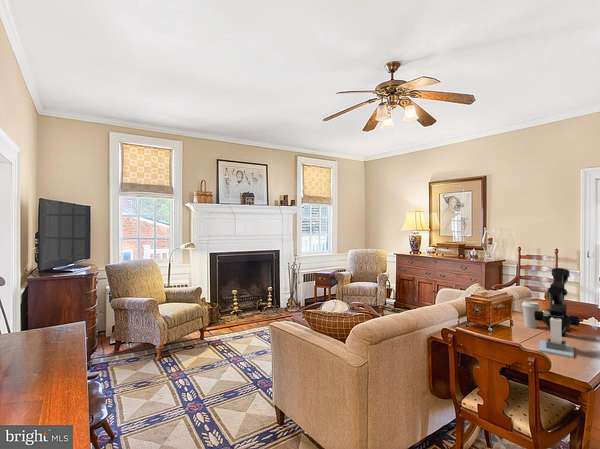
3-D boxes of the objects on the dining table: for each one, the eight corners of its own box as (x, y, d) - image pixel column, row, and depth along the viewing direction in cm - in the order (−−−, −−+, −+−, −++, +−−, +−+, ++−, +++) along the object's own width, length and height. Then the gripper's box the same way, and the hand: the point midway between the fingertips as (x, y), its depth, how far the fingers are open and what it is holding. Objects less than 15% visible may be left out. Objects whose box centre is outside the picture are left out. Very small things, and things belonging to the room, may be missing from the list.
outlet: (540, 341, 188) (540, 334, 188) (573, 347, 180) (573, 339, 180) (538, 351, 174) (538, 343, 174) (573, 358, 166) (573, 349, 166)
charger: (550, 342, 180) (550, 317, 180) (561, 344, 177) (561, 318, 177) (550, 345, 177) (550, 318, 177) (561, 346, 174) (561, 320, 174)
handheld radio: (548, 320, 229) (572, 332, 205) (543, 320, 230) (566, 332, 205) (548, 310, 229) (572, 321, 205) (542, 310, 230) (566, 321, 205)
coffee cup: (539, 325, 218) (539, 301, 218) (540, 329, 210) (540, 304, 210) (521, 323, 223) (521, 300, 223) (521, 327, 215) (521, 303, 215)
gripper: (534, 295, 186) (532, 320, 177) (579, 300, 174) (579, 327, 166) (535, 307, 192) (534, 332, 183) (578, 312, 181) (579, 339, 172)
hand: (555, 332), depth 176 cm, fingers closed on charger, 4 cm apart
